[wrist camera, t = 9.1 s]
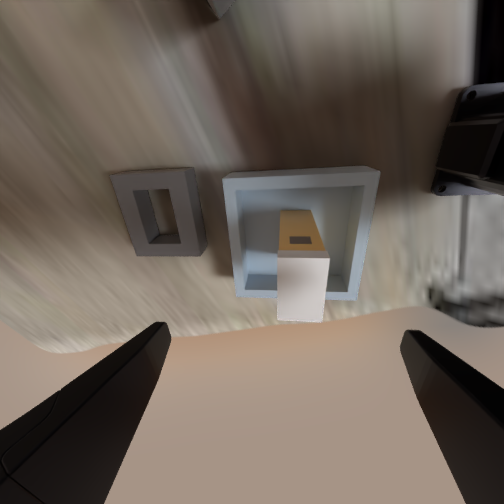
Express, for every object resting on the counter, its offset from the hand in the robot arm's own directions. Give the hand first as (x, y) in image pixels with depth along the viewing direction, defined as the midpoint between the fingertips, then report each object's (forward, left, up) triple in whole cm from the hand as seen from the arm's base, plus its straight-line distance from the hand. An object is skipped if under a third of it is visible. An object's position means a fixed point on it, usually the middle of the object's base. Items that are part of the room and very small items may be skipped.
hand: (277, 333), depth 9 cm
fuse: (-1, +1, -12) cm, 12 cm away
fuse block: (+10, -1, -12) cm, 16 cm away
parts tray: (-1, +1, -12) cm, 12 cm away
